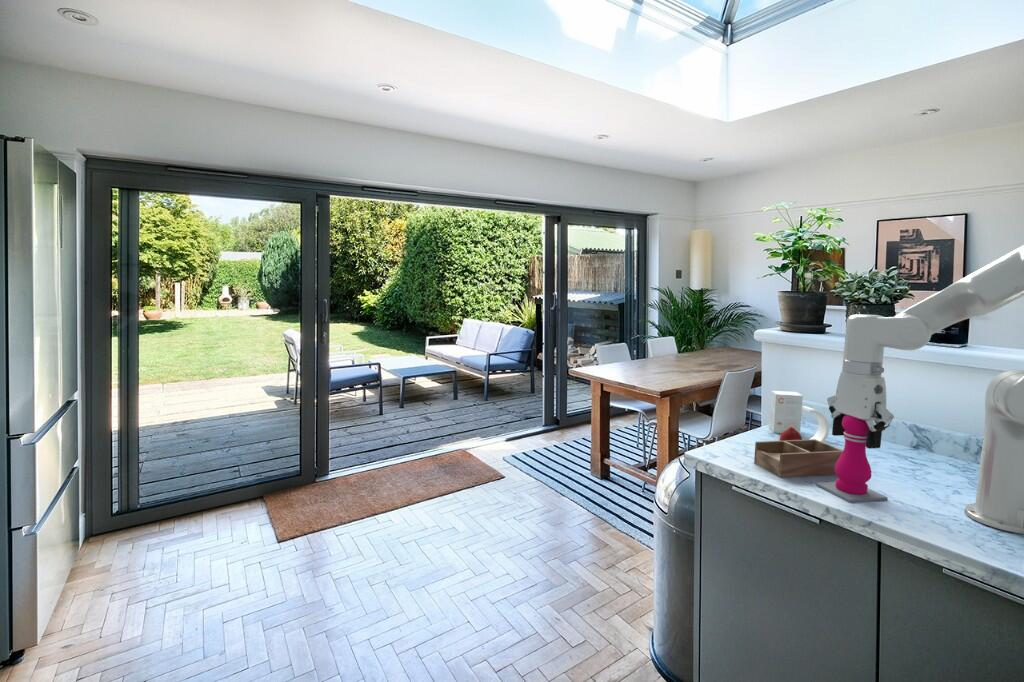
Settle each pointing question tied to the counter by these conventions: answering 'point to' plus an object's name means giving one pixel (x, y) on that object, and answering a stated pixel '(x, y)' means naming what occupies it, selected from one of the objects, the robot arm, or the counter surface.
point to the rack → (797, 457)
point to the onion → (790, 434)
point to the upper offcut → (775, 455)
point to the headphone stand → (822, 427)
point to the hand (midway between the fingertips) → (855, 441)
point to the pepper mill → (853, 458)
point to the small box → (785, 411)
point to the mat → (849, 497)
